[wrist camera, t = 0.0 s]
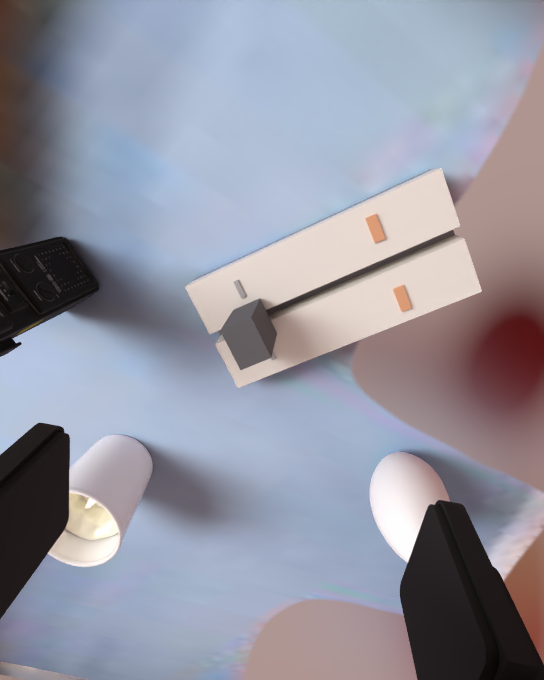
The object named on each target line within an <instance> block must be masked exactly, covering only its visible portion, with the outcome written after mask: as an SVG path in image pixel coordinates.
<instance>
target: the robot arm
mask: <svg viewBox="0 0 544 680" xmlns="http://www.w3.org/2000/svg"><path fill="white" fill-rule="evenodd" d="M69 461H70V438H69V435H68V434H66V433H64V429H63V428H62V427H61V426H55V425H50V424H45V423H38V424H36V425H35V426H34V427H32V428H31V429H30V430H29V431H28V432H27V433H25V434H24V435H23V436H22V437H21V438H20V439H18V440H17V441H16V442H15V443H14V444H13V445H12V446H10V447H9V448H8V449H7V450H6V451H5V452H3V453H2V454H1V455H0V619H1V617H2V616H3V615H4V613H5V612H6V610H7V609H8V608H9V606H10V605H11V603H12V602H13V601H14V599H15V598H16V597H17V595H18V594H19V592H20V591H21V590H22V588H23V587H24V585H25V584H26V583H27V581H28V580H29V578H30V577H31V576H32V574H33V573H34V572H35V570H36V569H37V567H38V566H39V565H40V563H41V562H42V560H43V559H44V558H45V556H46V555H47V553H48V552H49V551H50V549H51V548H52V547H53V545H54V544H55V542H56V541H57V540H58V538H59V537H60V535H61V534H62V533H63V531H64V530H65V528H66V525H67V523H68V519H69ZM400 599H401V604H402V608H403V613H404V618H405V622H406V627H407V632H408V636H409V641H410V645H411V651H412V655H413V660H414V664H415V669H416V674H417V679H418V680H544V665H543V662H542V660H541V658H540V656H539V654H538V652H537V650H536V648H535V646H534V644H533V642H532V640H531V638H530V636H529V633H528V632H527V629H526V627H525V625H524V623H523V621H522V619H521V617H520V615H519V613H518V611H517V609H516V607H515V604H514V602H513V600H512V598H511V596H510V594H509V592H508V590H507V588H506V586H505V584H504V581H503V579H502V577H501V575H500V574H499V572H498V571H497V569H495V568H494V567H493V566H492V564H491V562H490V560H489V558H488V556H487V554H486V552H485V549H484V547H483V545H482V543H481V541H480V539H479V537H478V535H477V533H476V530H475V528H474V526H473V524H472V522H471V520H470V518H469V516H468V513H467V511H466V509H465V507H464V506H463V505H462V504H459V503H454V502H448V501H443V500H438V501H437V502H436V503H435V505H433V504H430V505H429V506H428V508H427V510H426V513H425V516H424V519H423V521H422V524H421V527H420V530H419V533H418V536H417V538H416V541H415V544H414V547H413V550H412V553H411V555H410V558H409V561H408V564H407V567H406V570H405V572H404V575H403V578H402V581H401V585H400ZM0 680H90V679H85V678H80V677H75V676H70V675H65V674H60V673H55V672H50V671H45V670H40V669H35V668H30V667H25V666H20V665H16V664H11V663H6V662H0Z"/></svg>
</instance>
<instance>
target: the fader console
mask: <svg viewBox="0 0 544 680" xmlns="http://www.w3.org/2000/svg"><path fill="white" fill-rule="evenodd" d="M457 227H460V223H459V220H458V217H457V214H456V211H455V208H454V205H453V202H452V198H451V195H450V192H449V189H448V186H447V183H446V180H445V177H444V174H443V171H442V168H439V169H432V170H428V171H426V172H424V173H422V174H420V175H418V176H416V177H413V178H411V179H409V180H407V181H405V182H403V183H400V184H398V185H396V186H394V187H392V188H390V189H388V190H385V191H383V192H381V193H379V194H377V195H375V196H373V197H370V198H368V199H366V200H364V201H362V202H360V203H358V204H355V205H353V206H351V207H349V208H347V209H345V210H343V211H340V212H338V213H336V214H334V215H332V216H330V217H327V218H325V219H323V220H321V221H319V222H317V223H315V224H312V225H310V226H308V227H306V228H304V229H302V230H300V231H297V232H295V233H293V234H291V235H289V236H287V237H285V238H282V239H280V240H278V241H276V242H274V243H272V244H269V245H267V246H265V247H263V248H261V249H259V250H257V251H254V252H252V253H250V254H248V255H246V256H244V257H242V258H239V259H237V260H235V261H233V262H231V263H229V264H227V265H224V266H222V267H220V268H218V269H216V270H214V271H212V272H209V273H207V274H205V275H203V276H201V277H199V278H196V279H195V280H193V281H192V282H191V283H190V284H188V285H187V286H186V287H185V288H186V290H187V292H188V294H189V296H190V298H191V300H192V302H193V304H194V305H195V307H196V309H197V311H198V313H199V315H200V317H201V319H202V321H203V322H204V324H205V326H206V328H207V330H208V332H209V334H212V333H214V332H216V331H219V333H220V335H221V336H220V337H219V339H218V340H217V342H216V344H215V345H216V347H217V349H218V351H219V353H220V355H221V357H222V359H223V360H224V362H225V364H226V366H227V368H228V370H229V372H230V374H231V376H232V377H233V379H234V381H235V383H236V385H237V387H238V388H239V387H242V386H244V385H247V384H250V383H252V382H255V381H257V380H260V379H262V378H265V377H267V376H270V375H272V374H275V373H277V372H280V371H282V370H285V369H287V368H290V367H293V366H295V365H298V364H300V363H303V362H305V361H308V360H310V359H313V358H315V357H318V356H320V355H323V354H325V353H328V352H331V351H333V350H336V349H338V348H341V347H343V346H346V345H348V344H351V343H353V342H356V341H358V340H361V339H363V338H366V337H368V336H371V335H373V334H376V333H378V332H381V331H384V330H386V329H388V328H391V327H394V326H396V325H399V324H401V323H404V322H406V321H409V320H412V319H414V318H417V317H419V316H422V315H424V314H427V313H429V312H432V311H434V310H437V309H439V308H442V307H444V306H447V305H449V304H452V303H454V302H457V301H459V300H462V299H465V298H467V297H470V296H472V295H475V294H477V293H480V292H482V290H481V286H480V284H479V280H478V277H477V275H476V272H475V268H474V266H473V262H472V259H471V256H470V253H469V251H468V247H467V244H466V241H465V239H464V238H462V237H459V236H456V235H455V234H454V231H453V229H455V228H457ZM259 298H260V299H261V301H262V303H263V305H264V307H265V309H266V311H267V313H268V315H269V317H270V320H271V322H272V324H273V326H274V328H275V330H276V332H277V336H276V340H275V345H274V349H273V353H272V357H271V358H270V359H267V360H265V361H262V362H260V363H257V364H255V365H253V366H250V367H248V368H245V369H243V370H240V368H239V366H238V364H237V363H236V361H235V359H234V357H233V355H232V353H231V351H230V349H229V347H228V345H227V343H226V341H225V339H224V337H223V336H222V334H221V332H220V330H221V328H222V327H223V325H224V324H225V322H226V320H227V319H228V317H229V316H230V314H231V313H232V311H233V310H234V309H236V308H239V307H241V306H243V305H245V304H248V303H250V302H252V301H255V300H257V299H259Z"/></svg>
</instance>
